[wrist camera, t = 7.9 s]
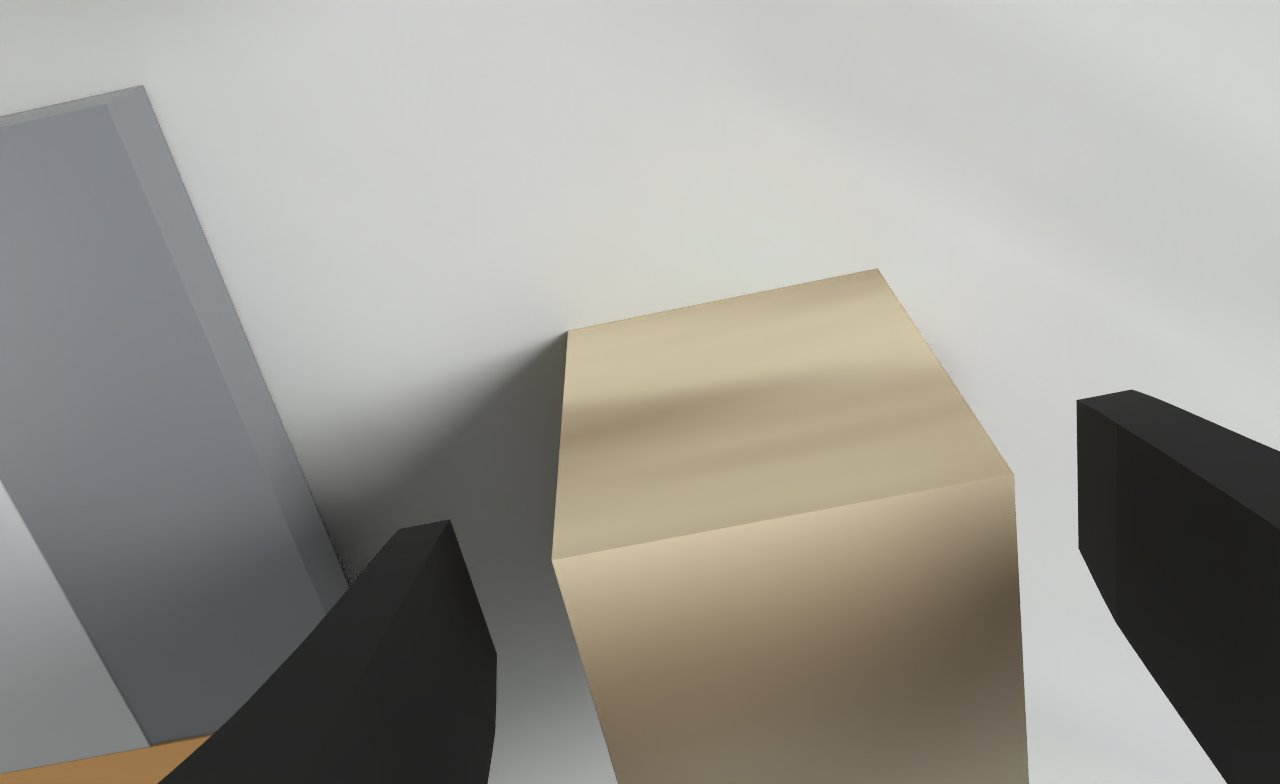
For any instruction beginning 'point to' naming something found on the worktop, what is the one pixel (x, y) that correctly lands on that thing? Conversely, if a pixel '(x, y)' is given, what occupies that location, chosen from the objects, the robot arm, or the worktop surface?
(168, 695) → the breaker panel
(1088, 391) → the worktop surface
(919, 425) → the block
